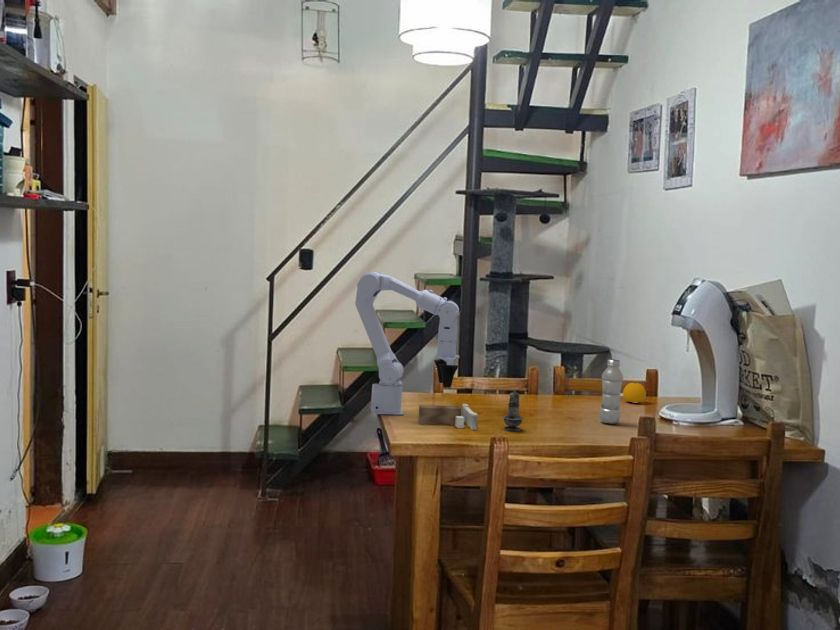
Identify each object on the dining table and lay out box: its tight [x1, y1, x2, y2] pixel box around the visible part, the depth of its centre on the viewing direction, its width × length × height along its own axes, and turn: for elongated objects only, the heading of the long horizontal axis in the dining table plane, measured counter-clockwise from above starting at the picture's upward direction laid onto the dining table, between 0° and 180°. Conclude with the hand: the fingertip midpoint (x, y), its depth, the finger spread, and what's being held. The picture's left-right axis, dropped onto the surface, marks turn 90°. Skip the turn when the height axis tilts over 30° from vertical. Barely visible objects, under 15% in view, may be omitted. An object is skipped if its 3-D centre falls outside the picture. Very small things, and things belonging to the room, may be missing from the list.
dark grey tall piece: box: [502, 388, 524, 433], centre depth 237 cm, size 6×6×12 cm
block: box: [417, 404, 462, 426], centre depth 240 cm, size 12×4×5 cm, turn 98°
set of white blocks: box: [454, 403, 478, 431], centre depth 241 cm, size 6×15×4 cm, turn 8°
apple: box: [622, 382, 647, 403], centre depth 291 cm, size 8×8×8 cm
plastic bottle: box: [598, 358, 624, 425], centre depth 252 cm, size 6×7×20 cm
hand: (444, 385), depth 249 cm, fingers open, 7 cm apart
